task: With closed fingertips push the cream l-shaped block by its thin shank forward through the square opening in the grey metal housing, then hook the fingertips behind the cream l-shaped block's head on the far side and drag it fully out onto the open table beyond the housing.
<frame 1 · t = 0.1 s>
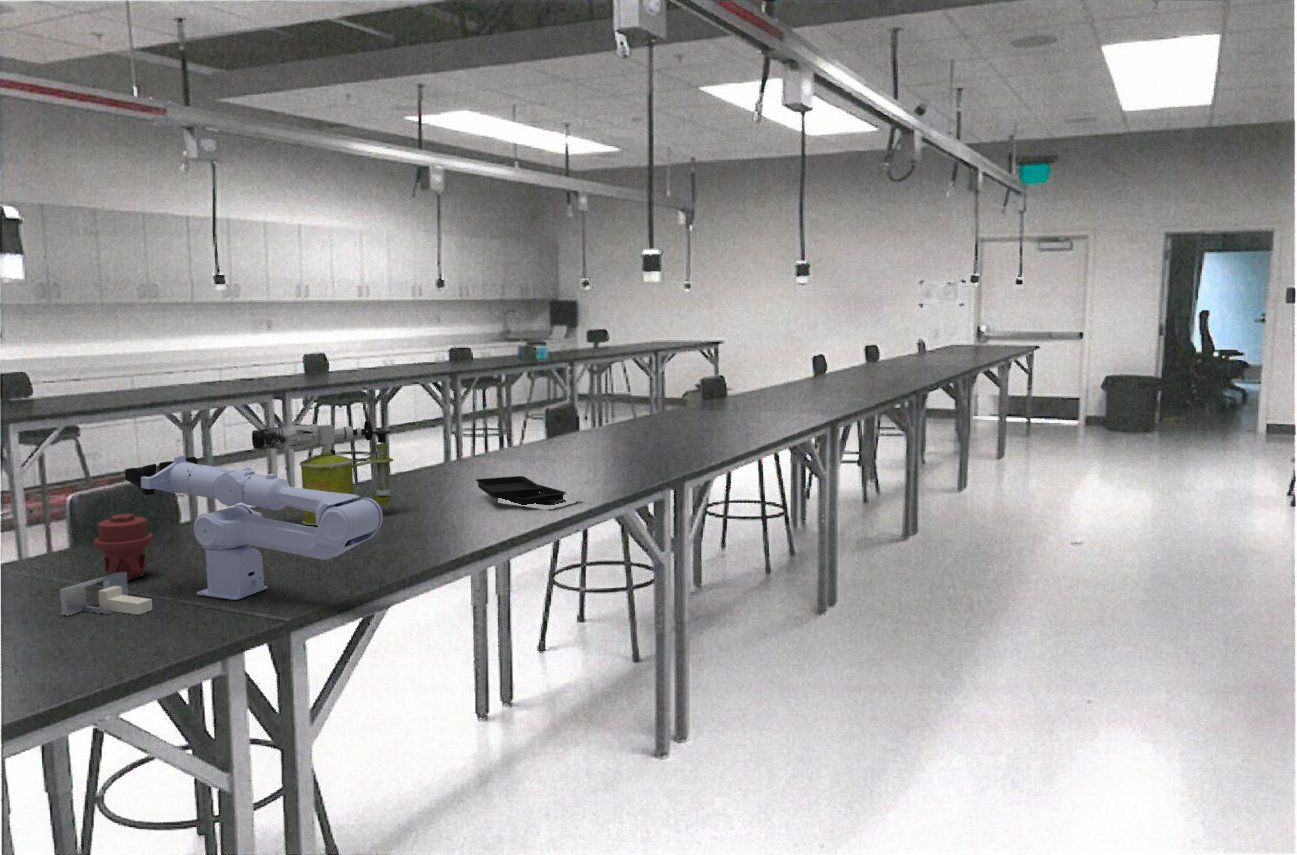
hand: (144, 470, 186), 22 cm above the table, tool horizontal, fingers open, 7 cm apart
mechanical component: (126, 579, 191), on the table
tray: (520, 504, 262), on the table
blowtorch: (329, 521, 241), on the table
cream l-shaped block: (128, 611, 171), on the table
housing: (96, 605, 174), on the table
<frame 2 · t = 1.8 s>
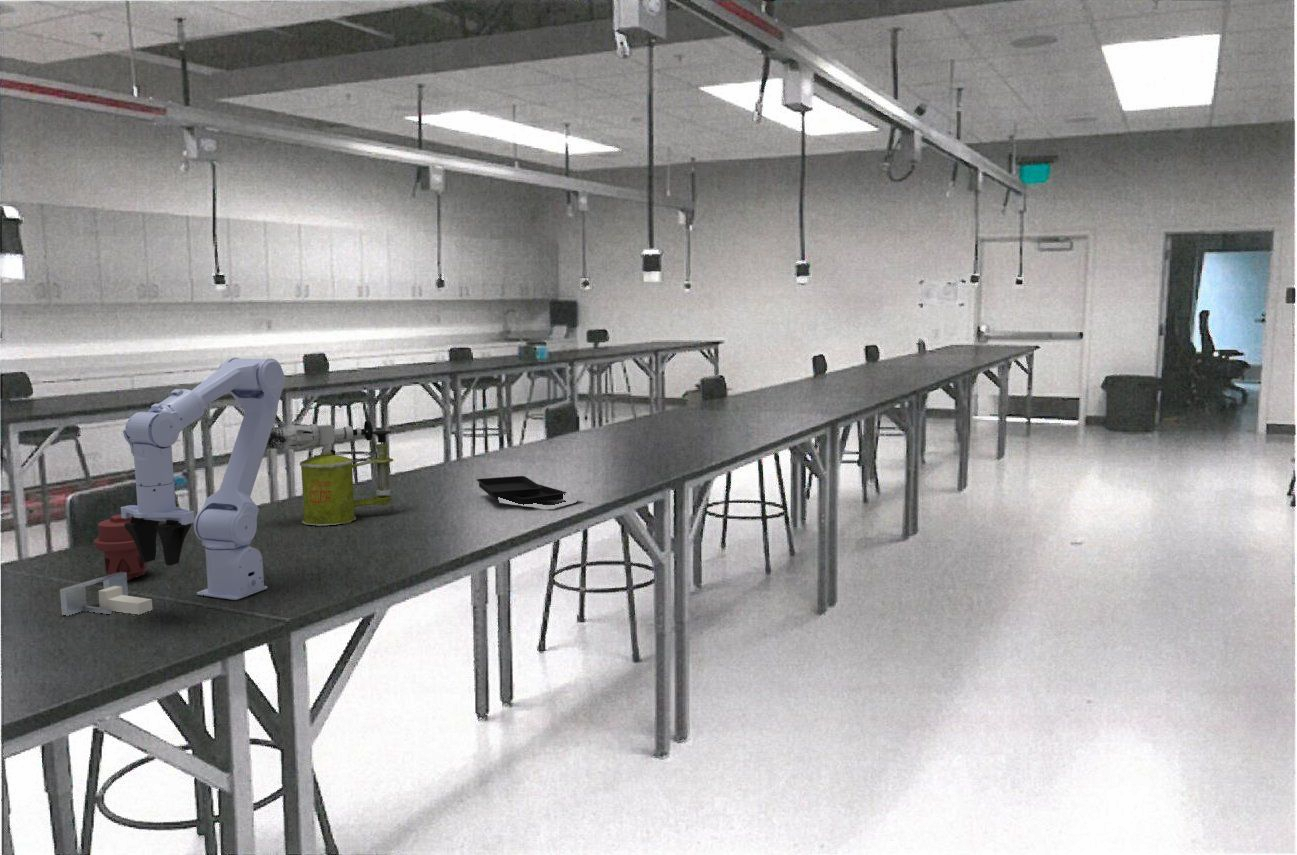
hand: (160, 562, 166), 9 cm above the table, tool pointing down, fingers open, 5 cm apart
nothing on the table moved.
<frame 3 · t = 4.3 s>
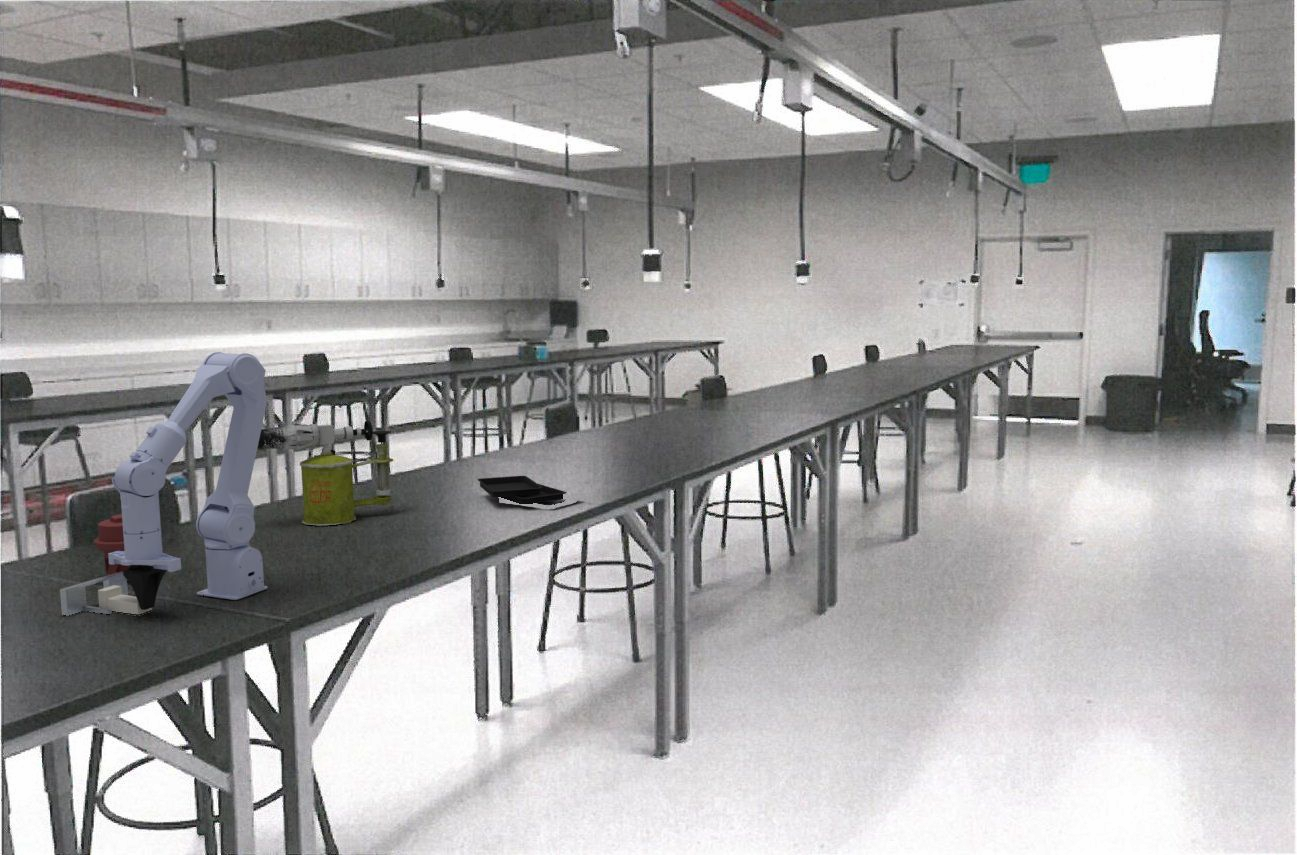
hand: (147, 608, 169), 1 cm above the table, tool pointing down, fingers closed
cream l-shaped block: (128, 610, 171), on the table, touching gripper
everything else where it was.
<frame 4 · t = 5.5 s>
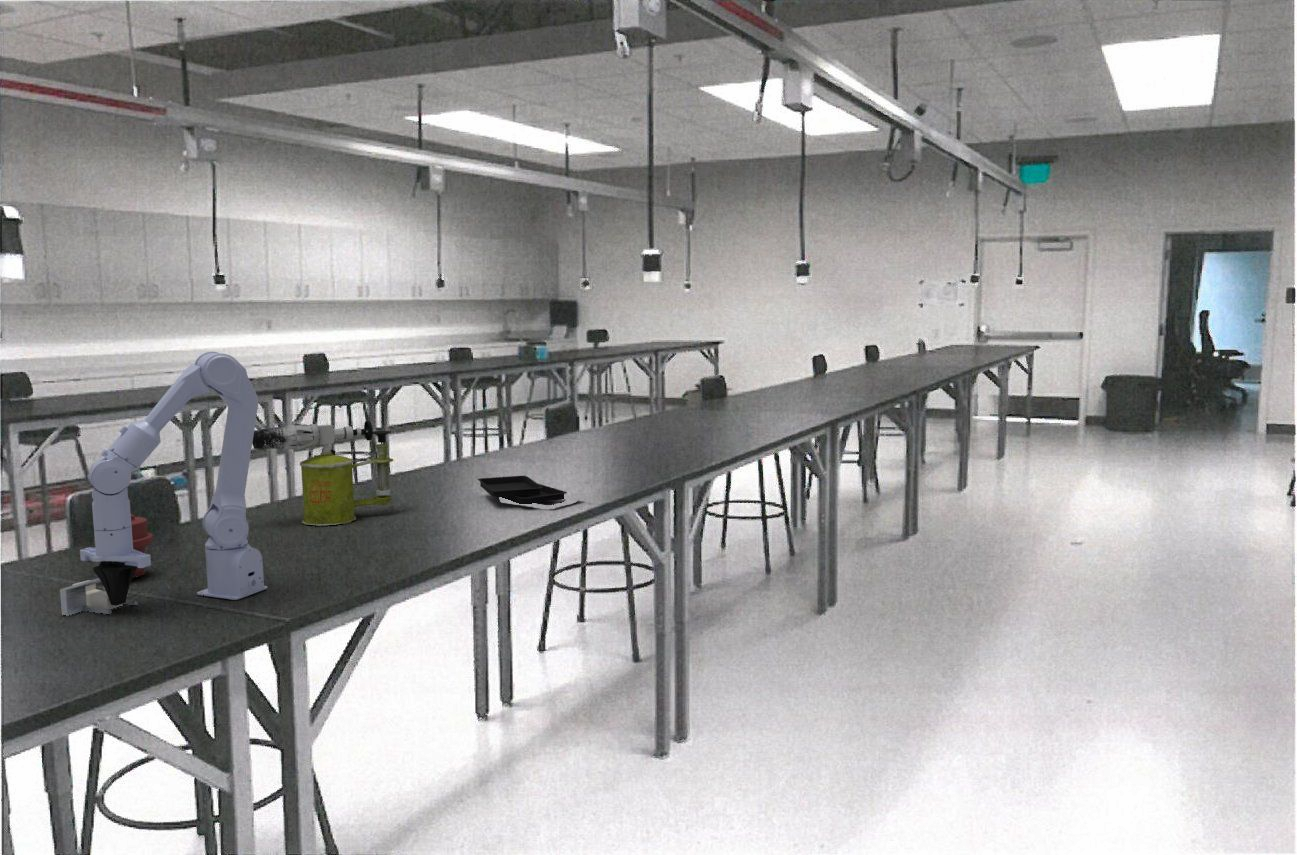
hand: (118, 603, 171), 1 cm above the table, tool pointing down, fingers closed
cream l-shaped block: (100, 605, 174), on the table, touching gripper
everything else where it was.
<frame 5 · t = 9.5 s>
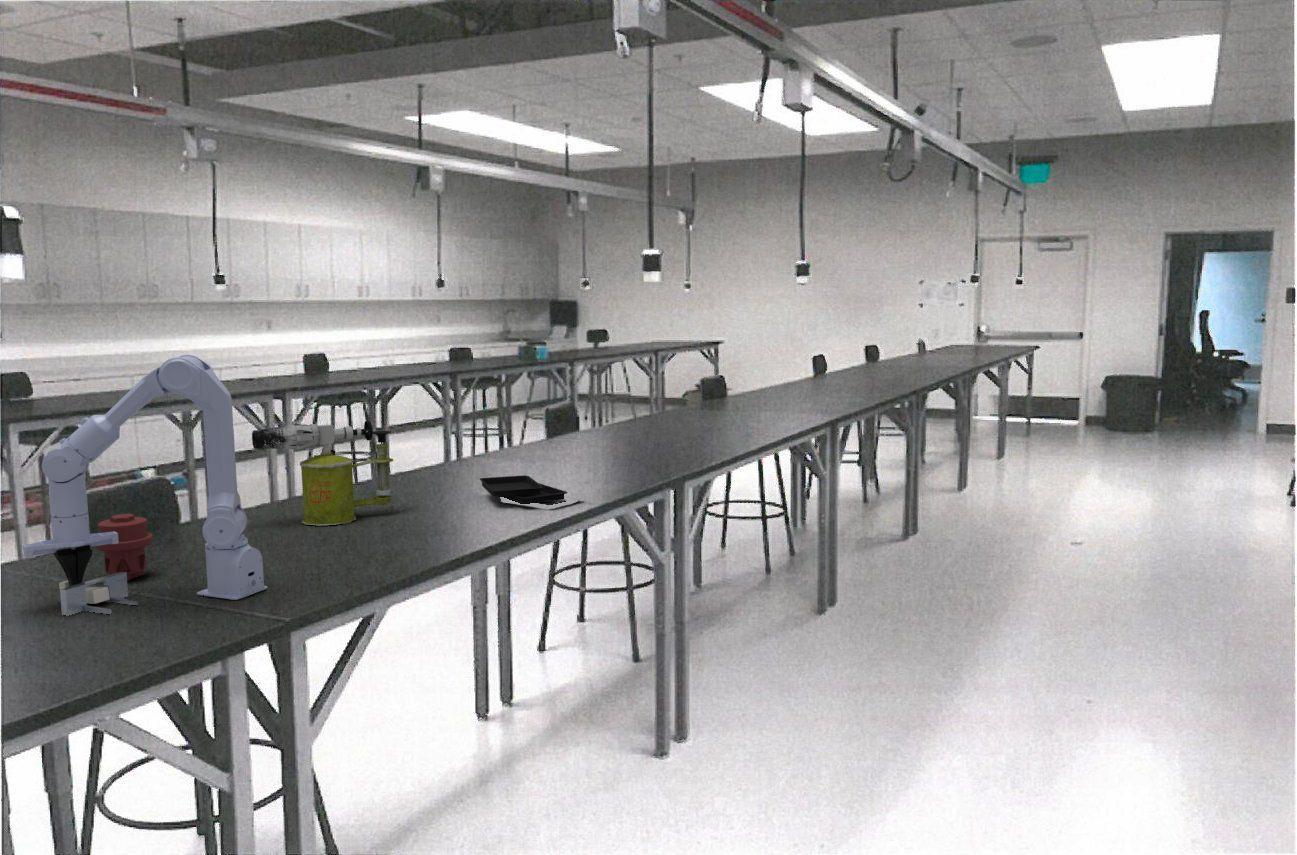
hand: (75, 589, 175), 2 cm above the table, tool pointing down, fingers closed, pressing on cream l-shaped block
cream l-shaped block: (87, 600, 175), on the table, tilted 6°, touching gripper
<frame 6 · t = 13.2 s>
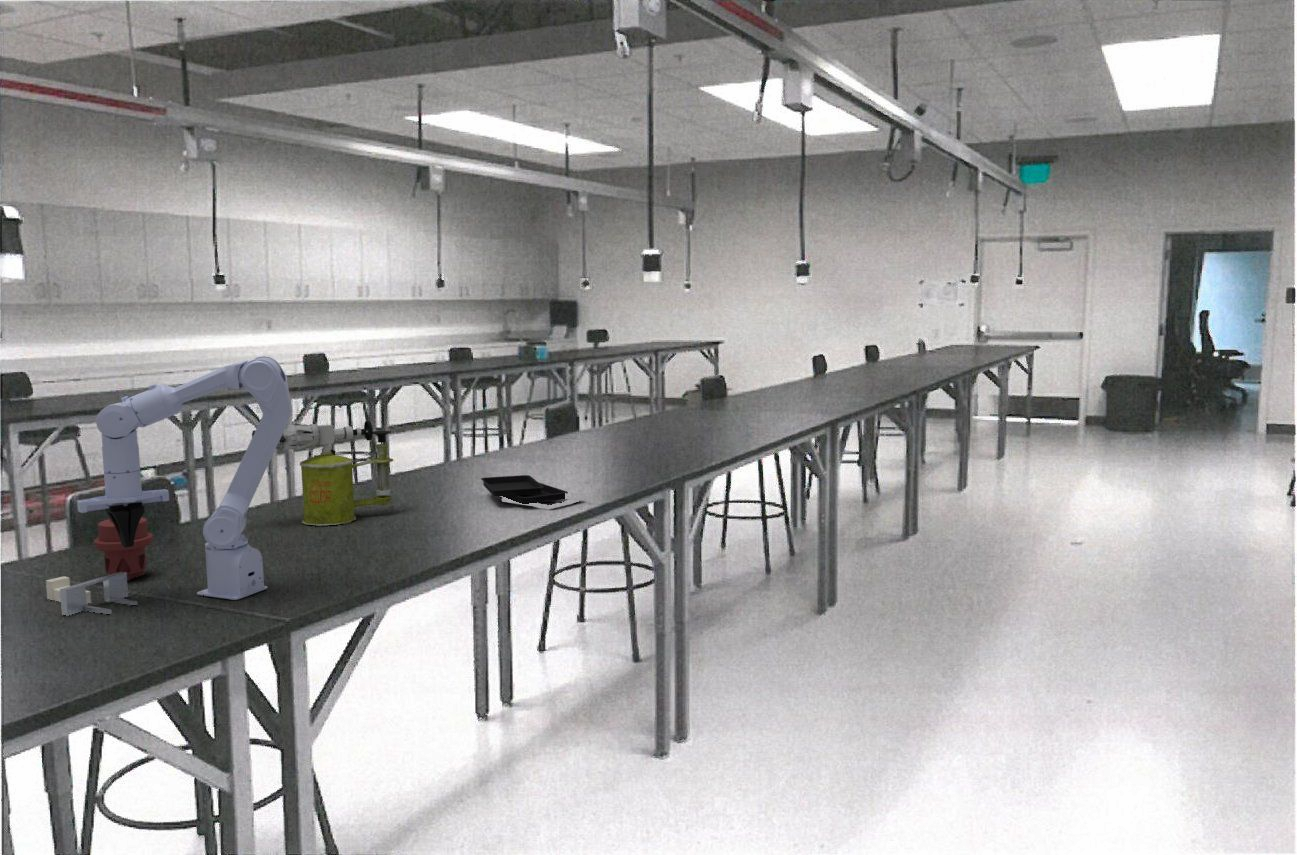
hand: (127, 545, 176), 10 cm above the table, tool pointing down, fingers closed
cream l-shaped block: (71, 601, 176), on the table
at the end: cream l-shaped block 1.6 cm from the target spot, on the table; cream l-shaped block touching table; cream l-shaped block moved 14.4 cm from its start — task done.
